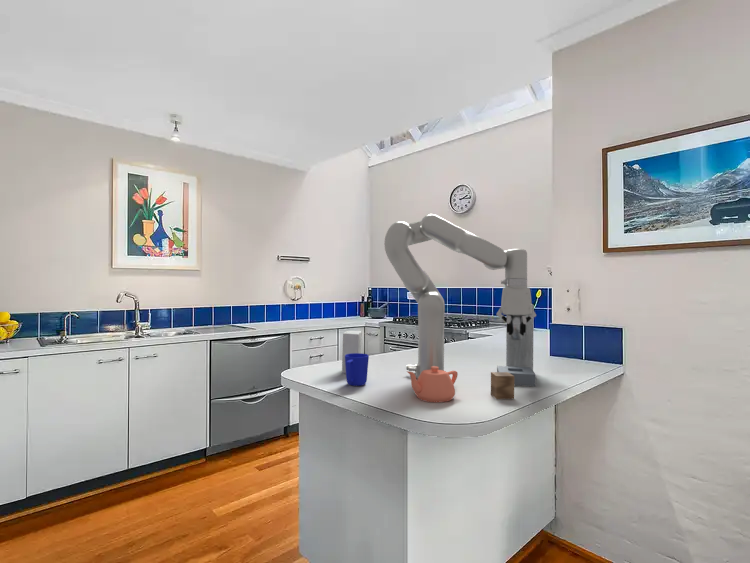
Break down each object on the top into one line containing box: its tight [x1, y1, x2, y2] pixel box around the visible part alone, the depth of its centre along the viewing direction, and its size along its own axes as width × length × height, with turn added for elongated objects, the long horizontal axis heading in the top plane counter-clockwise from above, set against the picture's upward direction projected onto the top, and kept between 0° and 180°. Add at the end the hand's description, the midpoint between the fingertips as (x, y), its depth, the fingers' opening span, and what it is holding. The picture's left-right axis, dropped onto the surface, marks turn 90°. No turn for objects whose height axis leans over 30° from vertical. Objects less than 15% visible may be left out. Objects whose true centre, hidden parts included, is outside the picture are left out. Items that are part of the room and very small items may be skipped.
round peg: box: [511, 315, 521, 340], centre depth 148 cm, size 4×4×10 cm
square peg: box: [490, 371, 515, 400], centre depth 128 cm, size 6×6×7 cm
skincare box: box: [341, 330, 363, 374], centre depth 162 cm, size 8×7×16 cm
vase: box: [505, 303, 535, 371], centre depth 162 cm, size 10×10×27 cm
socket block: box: [496, 365, 537, 387], centre depth 148 cm, size 12×12×4 cm
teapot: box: [406, 366, 459, 403], centre depth 126 cm, size 12×18×10 cm
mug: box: [345, 352, 370, 387], centre depth 140 cm, size 8×12×10 cm
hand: (516, 334), depth 148 cm, fingers closed on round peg, 3 cm apart
